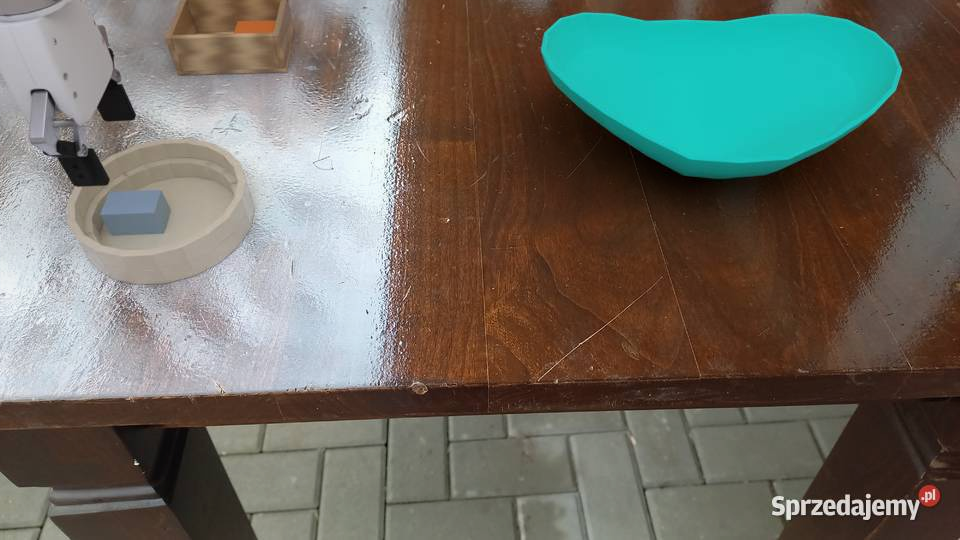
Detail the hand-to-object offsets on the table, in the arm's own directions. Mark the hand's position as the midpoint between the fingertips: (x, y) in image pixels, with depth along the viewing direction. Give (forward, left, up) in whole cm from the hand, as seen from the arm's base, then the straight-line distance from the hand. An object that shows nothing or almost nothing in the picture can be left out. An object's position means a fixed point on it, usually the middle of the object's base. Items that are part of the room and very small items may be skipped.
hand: (107, 150), depth 67 cm
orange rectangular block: (+8, +34, -10) cm, 36 cm away
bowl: (+3, 0, -11) cm, 11 cm away
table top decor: (+64, +11, -11) cm, 66 cm away
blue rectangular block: (0, 0, -10) cm, 10 cm away
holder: (+5, +34, -11) cm, 36 cm away
